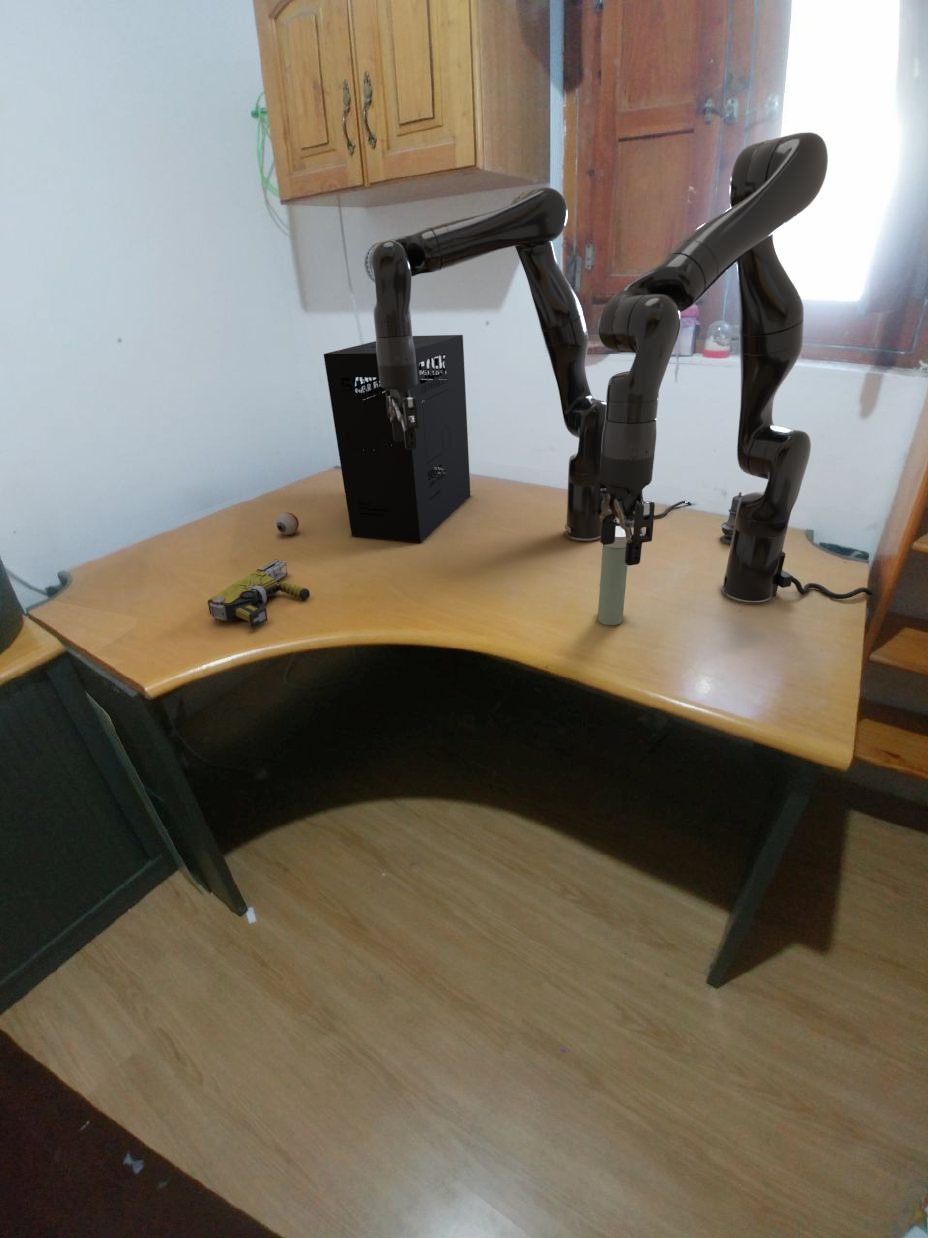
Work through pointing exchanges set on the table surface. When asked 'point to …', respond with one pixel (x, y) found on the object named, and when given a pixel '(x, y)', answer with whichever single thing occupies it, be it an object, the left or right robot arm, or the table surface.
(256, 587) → the toy gun
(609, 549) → the jar
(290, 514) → the eyeball
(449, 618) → the table surface
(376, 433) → the cardboard box
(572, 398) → the left robot arm
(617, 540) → the lid
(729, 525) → the salt shaker
